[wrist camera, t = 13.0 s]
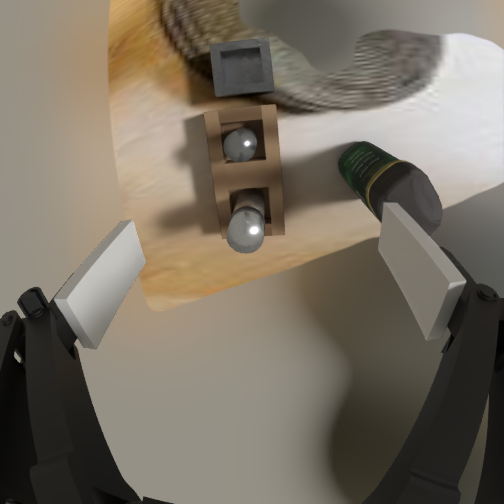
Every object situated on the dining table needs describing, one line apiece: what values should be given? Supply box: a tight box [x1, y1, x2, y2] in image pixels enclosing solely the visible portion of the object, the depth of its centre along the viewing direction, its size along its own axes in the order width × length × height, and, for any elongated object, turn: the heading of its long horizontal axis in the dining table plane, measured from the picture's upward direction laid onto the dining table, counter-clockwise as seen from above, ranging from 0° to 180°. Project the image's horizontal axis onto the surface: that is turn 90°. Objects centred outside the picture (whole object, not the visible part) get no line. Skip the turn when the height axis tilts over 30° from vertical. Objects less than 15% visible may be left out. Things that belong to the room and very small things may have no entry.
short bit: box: [224, 127, 258, 162], centre depth 36 cm, size 4×4×8 cm
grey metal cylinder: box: [226, 188, 265, 253], centre depth 39 cm, size 5×5×13 cm
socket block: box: [210, 38, 275, 98], centre depth 33 cm, size 8×8×4 cm
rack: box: [204, 104, 285, 239], centre depth 41 cm, size 20×10×4 cm, turn 6°
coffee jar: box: [339, 141, 442, 236], centre depth 34 cm, size 10×8×19 cm
